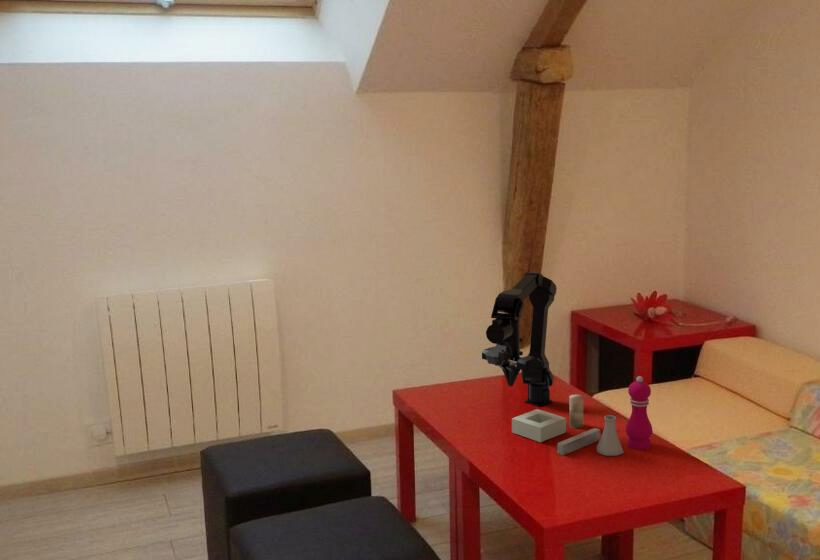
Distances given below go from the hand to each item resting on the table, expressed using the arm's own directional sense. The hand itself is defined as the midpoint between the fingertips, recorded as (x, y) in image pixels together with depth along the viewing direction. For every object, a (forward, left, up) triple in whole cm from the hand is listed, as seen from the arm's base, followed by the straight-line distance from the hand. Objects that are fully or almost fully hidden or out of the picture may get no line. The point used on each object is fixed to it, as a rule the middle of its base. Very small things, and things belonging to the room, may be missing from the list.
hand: (510, 386), depth 264 cm
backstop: (+26, 0, -12) cm, 28 cm away
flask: (+34, +3, -12) cm, 36 cm away
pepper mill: (+37, +12, -12) cm, 41 cm away
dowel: (+15, +12, -12) cm, 23 cm away
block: (+11, 0, -12) cm, 16 cm away
